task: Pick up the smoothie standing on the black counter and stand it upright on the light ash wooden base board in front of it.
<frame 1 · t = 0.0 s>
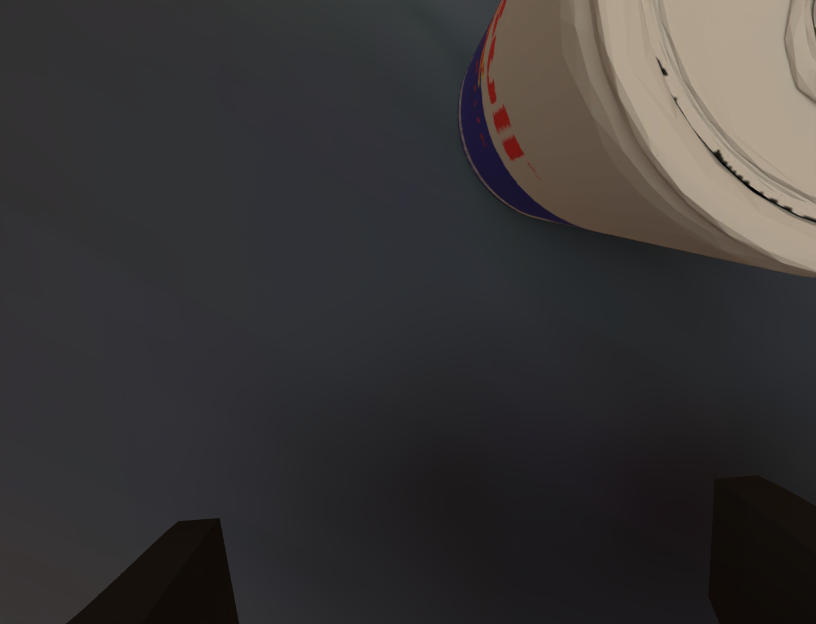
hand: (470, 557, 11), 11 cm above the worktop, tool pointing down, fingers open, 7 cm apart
beverage can: (560, 115, 21), on the worktop
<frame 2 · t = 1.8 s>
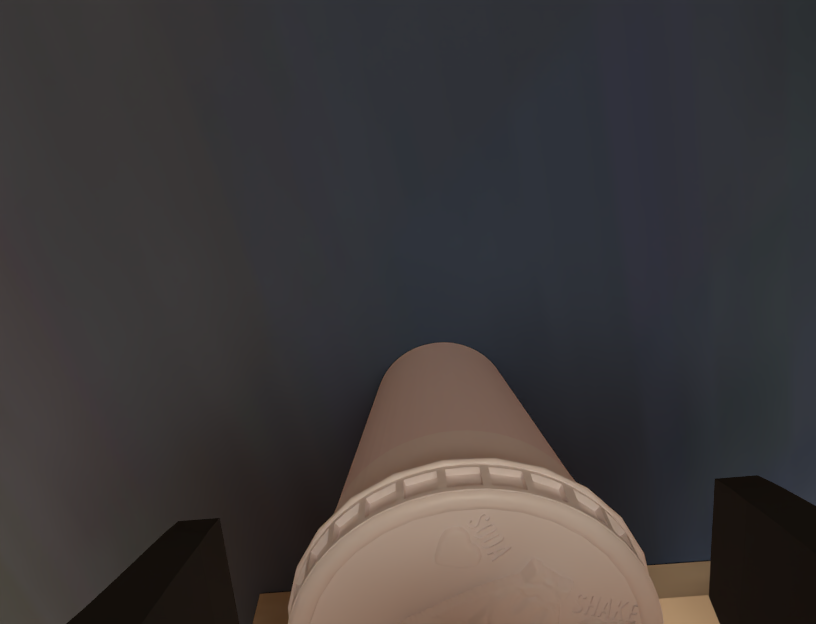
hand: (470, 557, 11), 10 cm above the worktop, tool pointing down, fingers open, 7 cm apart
smoothie: (441, 399, 22), on the worktop
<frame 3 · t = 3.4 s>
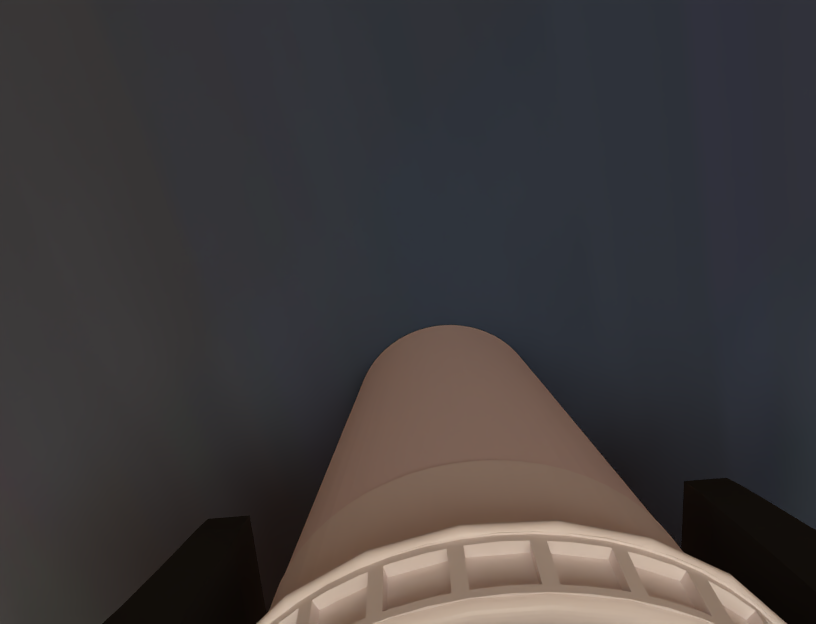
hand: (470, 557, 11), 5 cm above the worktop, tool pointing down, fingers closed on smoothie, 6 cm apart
smoothie: (447, 404, 16), on the worktop, touching gripper
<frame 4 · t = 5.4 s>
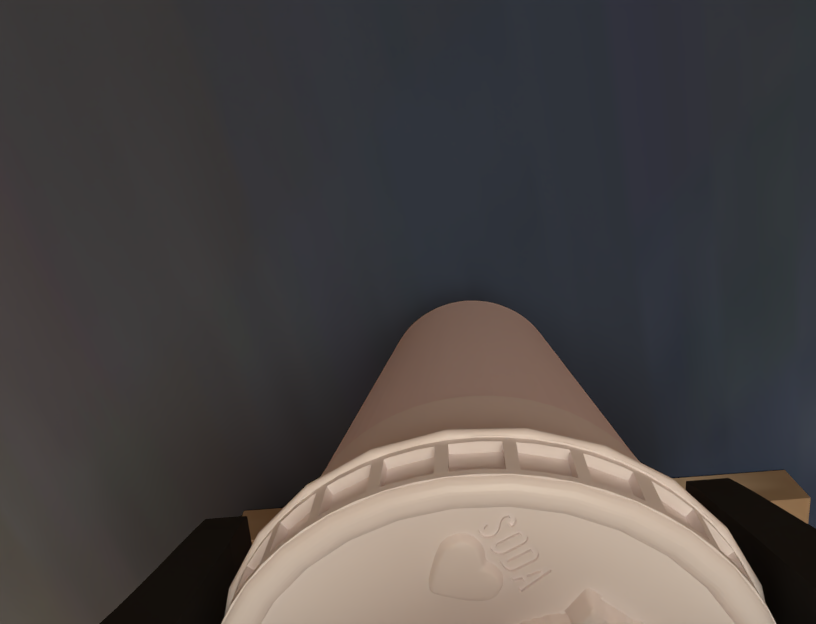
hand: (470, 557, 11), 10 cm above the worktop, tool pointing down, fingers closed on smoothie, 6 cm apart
smoothie: (471, 375, 17), point 4 cm above the worktop, touching gripper
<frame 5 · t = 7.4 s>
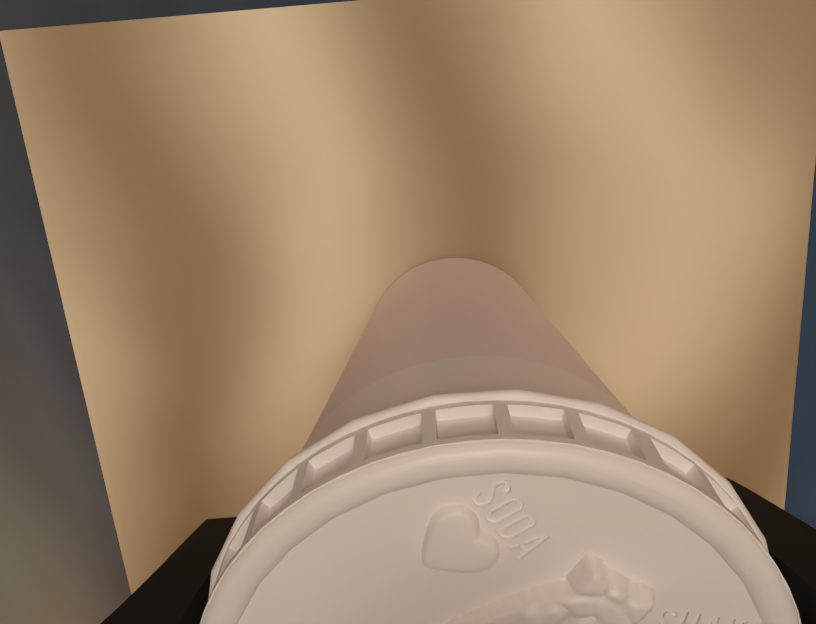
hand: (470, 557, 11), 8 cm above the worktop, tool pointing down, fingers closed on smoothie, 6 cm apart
base board: (437, 354, 19), on the worktop
smoothie: (454, 334, 17), point 1 cm above the worktop, touching base board, gripper
when the fingers open (8 cm above the worktop, at t = 8.2 s): smoothie stays where it is, resting on base board.
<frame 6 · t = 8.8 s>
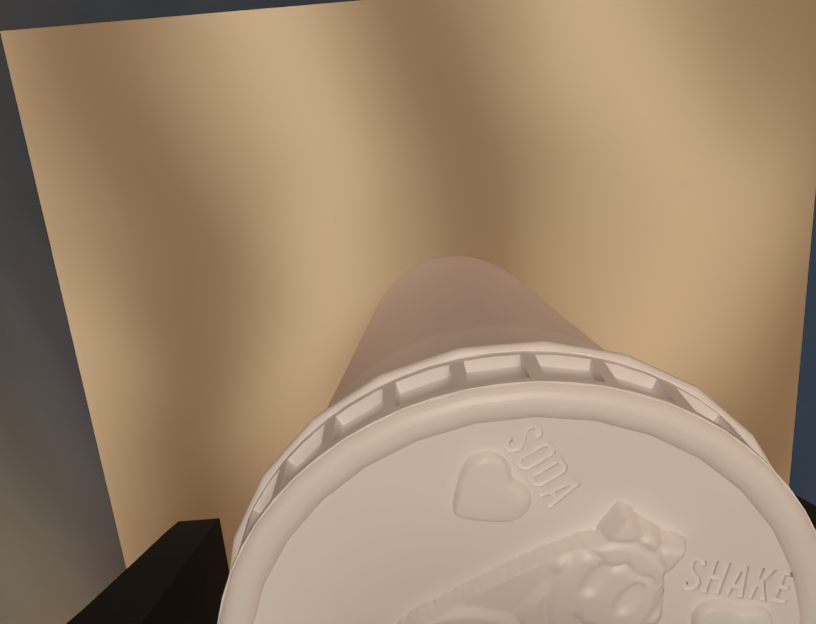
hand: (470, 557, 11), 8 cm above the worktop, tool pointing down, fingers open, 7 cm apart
base board: (439, 354, 19), on the worktop
smoothie: (454, 334, 17), point 1 cm above the worktop, touching base board
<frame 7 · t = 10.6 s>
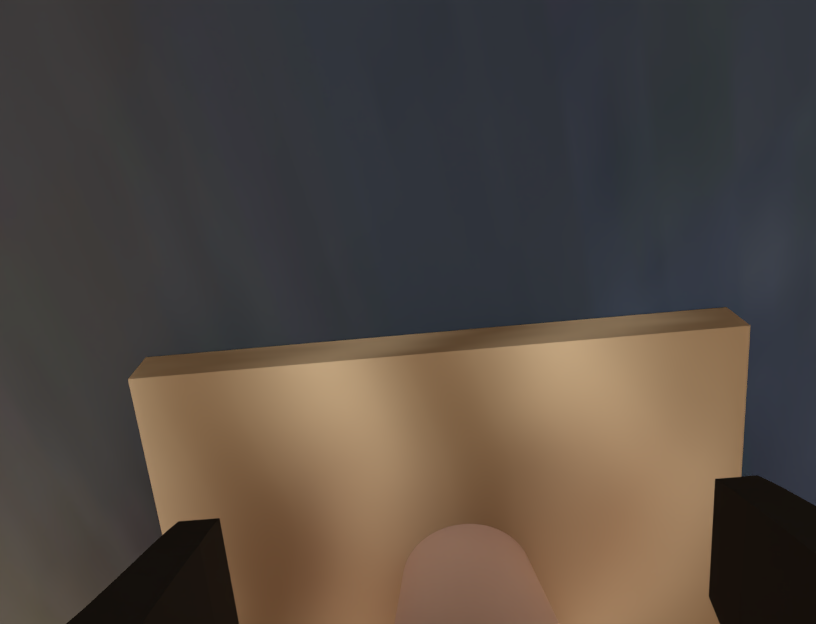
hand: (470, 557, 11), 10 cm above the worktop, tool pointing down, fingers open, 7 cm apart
base board: (454, 575, 24), on the worktop
smoothie: (466, 574, 22), point 1 cm above the worktop, touching base board
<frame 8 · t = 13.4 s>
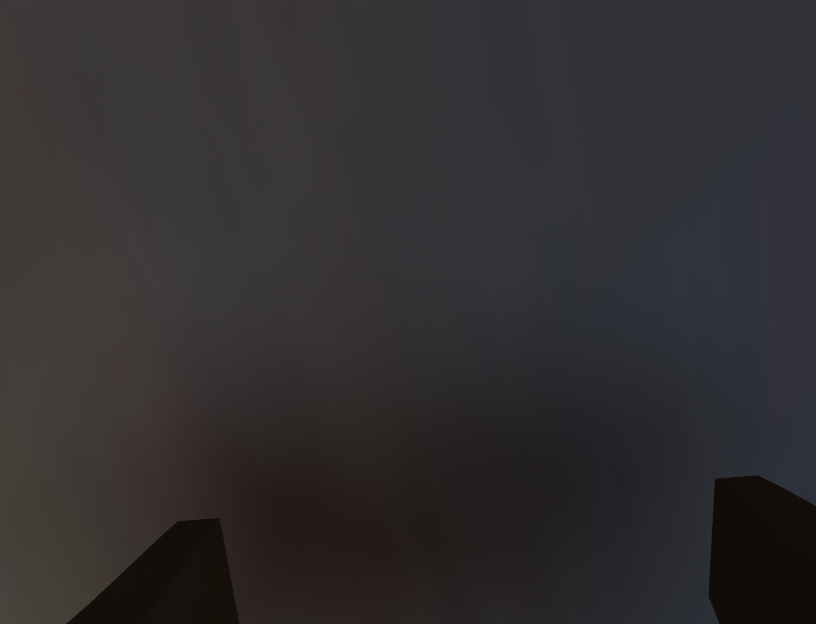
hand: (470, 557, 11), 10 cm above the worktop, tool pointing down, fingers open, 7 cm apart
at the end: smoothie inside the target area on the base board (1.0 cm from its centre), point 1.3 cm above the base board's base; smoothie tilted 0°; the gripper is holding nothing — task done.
